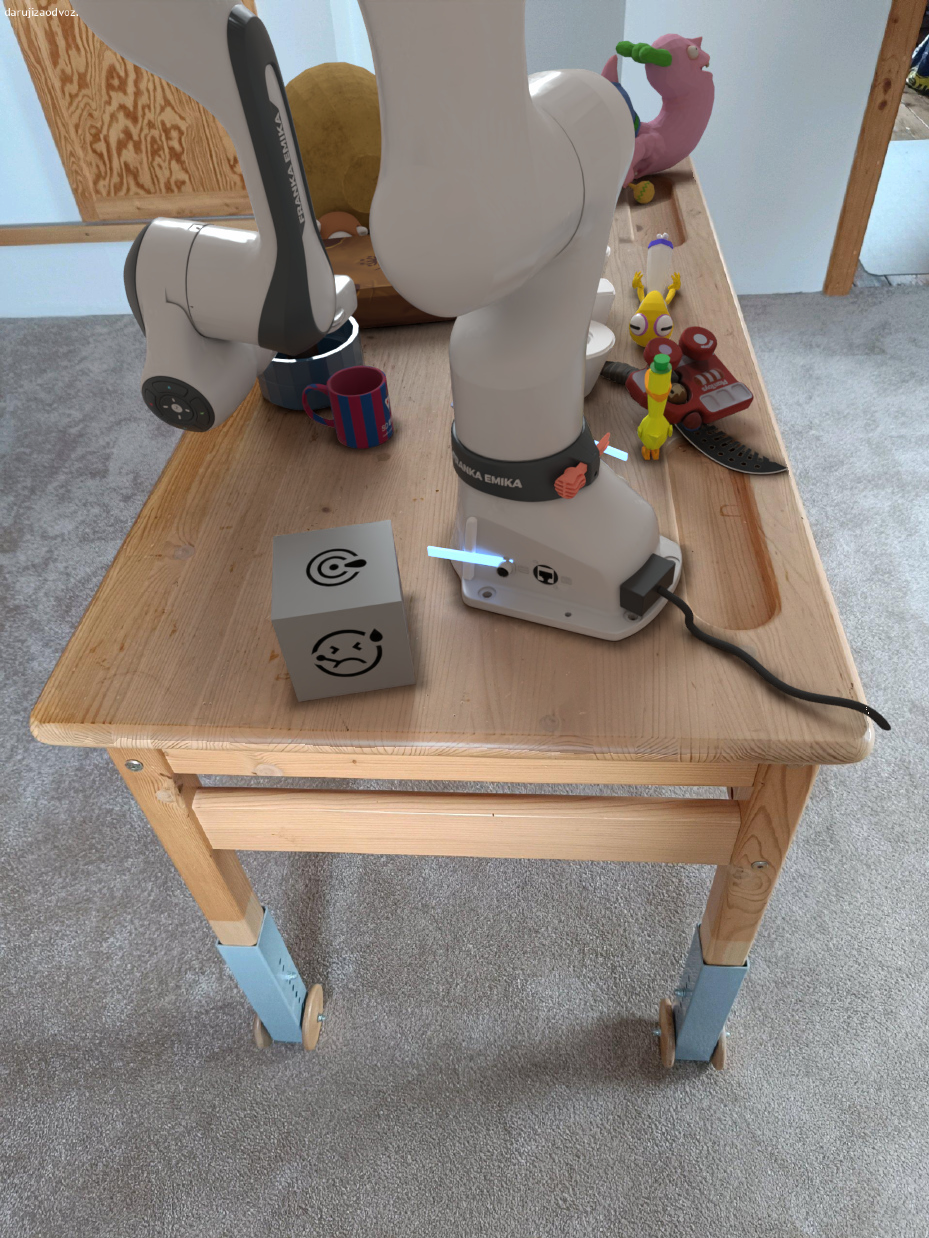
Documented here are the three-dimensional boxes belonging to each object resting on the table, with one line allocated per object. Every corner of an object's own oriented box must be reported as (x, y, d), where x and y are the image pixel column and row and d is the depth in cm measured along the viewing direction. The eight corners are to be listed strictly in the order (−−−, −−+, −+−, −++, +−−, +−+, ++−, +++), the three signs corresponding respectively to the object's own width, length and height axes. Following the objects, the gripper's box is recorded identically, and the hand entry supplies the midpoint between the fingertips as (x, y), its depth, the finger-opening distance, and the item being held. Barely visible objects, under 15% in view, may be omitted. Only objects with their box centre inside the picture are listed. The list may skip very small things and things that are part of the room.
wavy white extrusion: (502, 284, 123) (500, 209, 115) (617, 284, 121) (622, 207, 113) (468, 418, 99) (462, 334, 92) (610, 421, 97) (615, 335, 89)
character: (686, 227, 114) (683, 276, 99) (678, 302, 120) (673, 358, 105) (639, 226, 115) (628, 274, 100) (633, 300, 121) (622, 356, 106)
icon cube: (404, 602, 79) (390, 519, 72) (415, 683, 72) (401, 600, 65) (297, 618, 78) (273, 536, 71) (298, 701, 71) (270, 620, 64)
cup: (385, 451, 96) (376, 398, 91) (302, 445, 98) (290, 393, 93) (400, 418, 100) (392, 366, 96) (321, 414, 102) (309, 363, 97)
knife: (753, 494, 88) (788, 474, 89) (756, 481, 86) (791, 461, 88) (583, 378, 104) (615, 363, 105) (583, 366, 103) (615, 350, 104)
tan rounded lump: (353, 54, 113) (291, -3, 131) (259, 209, 122) (213, 135, 140) (472, 161, 130) (402, 97, 147) (381, 290, 139) (326, 215, 157)
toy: (543, -3, 139) (701, 38, 148) (510, 159, 152) (656, 187, 162) (596, 5, 120) (772, 51, 129) (553, 189, 134) (714, 219, 143)
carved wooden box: (314, 337, 116) (305, 296, 112) (319, 278, 129) (311, 240, 125) (480, 320, 116) (478, 278, 112) (468, 263, 129) (466, 224, 125)
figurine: (300, 254, 121) (378, 243, 125) (281, 203, 123) (359, 194, 127) (296, 296, 129) (369, 285, 133) (279, 247, 131) (352, 238, 135)
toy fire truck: (627, 345, 90) (685, 412, 87) (712, 317, 95) (771, 380, 91) (607, 392, 96) (661, 457, 93) (689, 364, 101) (743, 424, 97)
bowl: (388, 373, 108) (380, 321, 103) (320, 425, 101) (308, 372, 96) (309, 350, 114) (298, 300, 109) (240, 397, 106) (225, 346, 101)
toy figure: (631, 436, 95) (639, 337, 86) (663, 435, 94) (675, 335, 86) (637, 472, 90) (647, 371, 81) (671, 471, 90) (684, 369, 81)
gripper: (330, 300, 84) (368, 243, 94) (145, 294, 88) (199, 239, 97) (340, 358, 89) (376, 298, 98) (164, 349, 93) (214, 292, 102)
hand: (287, 268), depth 98 cm, fingers closed on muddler, 2 cm apart
